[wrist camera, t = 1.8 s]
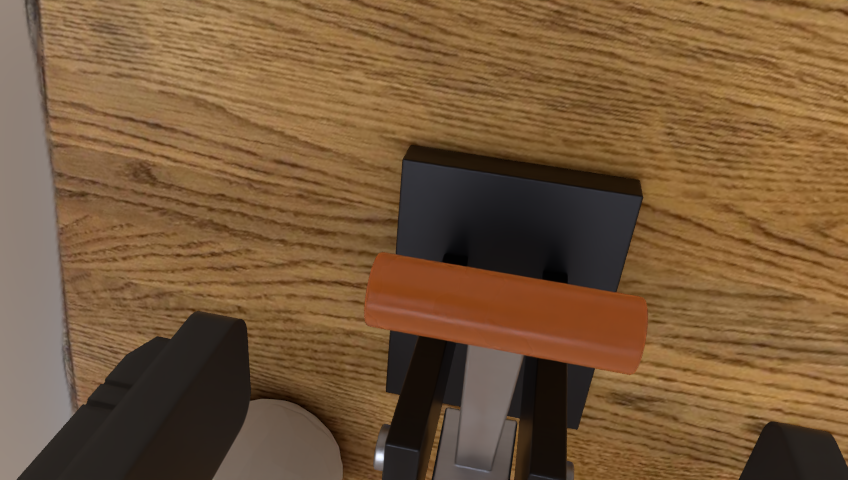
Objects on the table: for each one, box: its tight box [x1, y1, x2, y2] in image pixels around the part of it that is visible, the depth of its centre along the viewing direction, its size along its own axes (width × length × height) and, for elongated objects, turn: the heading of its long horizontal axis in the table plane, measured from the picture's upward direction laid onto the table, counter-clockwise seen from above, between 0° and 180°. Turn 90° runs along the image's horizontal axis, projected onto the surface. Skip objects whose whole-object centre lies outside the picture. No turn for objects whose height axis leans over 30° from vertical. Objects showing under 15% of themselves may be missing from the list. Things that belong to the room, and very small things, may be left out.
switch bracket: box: [374, 145, 643, 480], centre depth 24 cm, size 12×9×12 cm
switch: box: [364, 252, 648, 480], centre depth 17 cm, size 12×5×2 cm, turn 175°
